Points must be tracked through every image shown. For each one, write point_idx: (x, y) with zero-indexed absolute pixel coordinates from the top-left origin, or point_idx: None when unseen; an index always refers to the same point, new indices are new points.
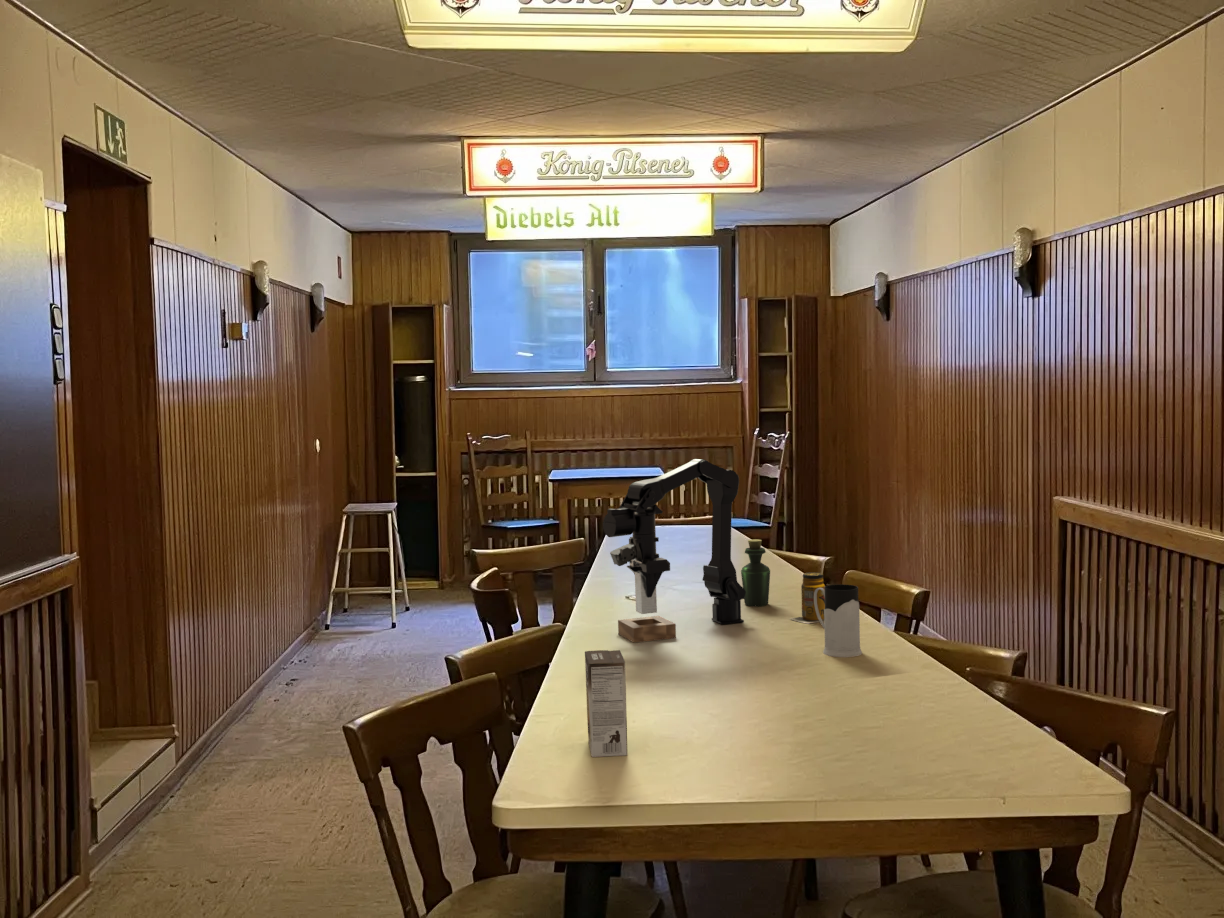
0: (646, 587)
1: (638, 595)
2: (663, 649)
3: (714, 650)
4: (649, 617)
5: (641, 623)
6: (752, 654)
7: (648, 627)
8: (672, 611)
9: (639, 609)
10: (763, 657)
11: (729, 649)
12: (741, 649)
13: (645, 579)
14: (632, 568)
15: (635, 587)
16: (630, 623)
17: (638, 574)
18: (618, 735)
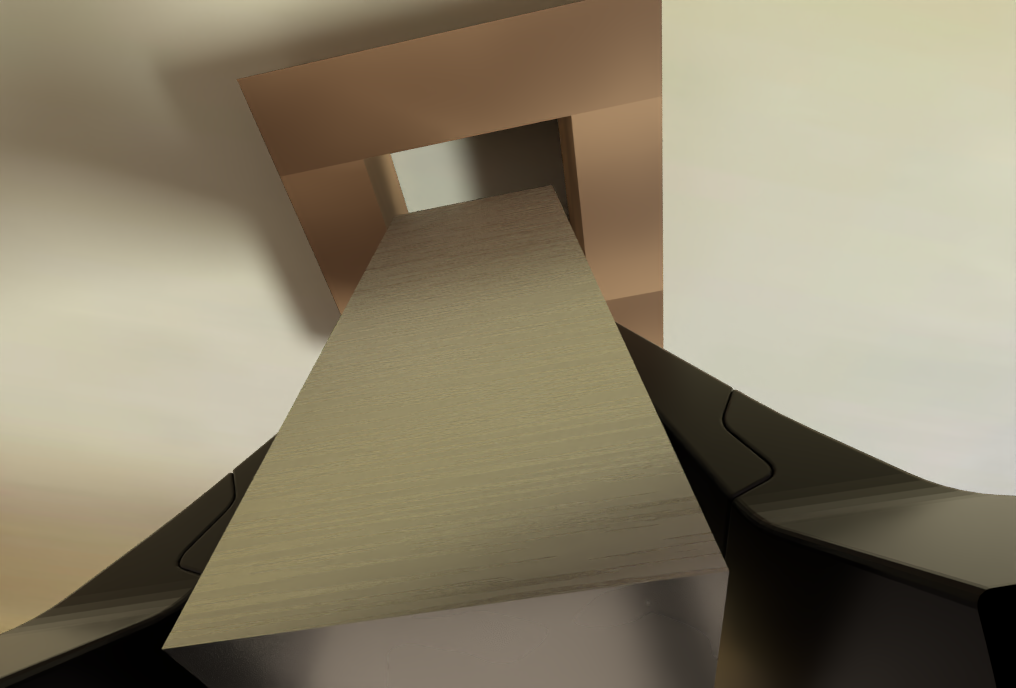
0: (268, 442)
1: (459, 272)
2: (88, 237)
3: (107, 450)
4: (636, 285)
5: (576, 205)
6: (57, 542)
7: (303, 220)
8: (1004, 429)
9: (452, 215)
10: (12, 559)
11: (137, 496)
12: (143, 527)
13: (119, 569)
14: (934, 644)
15: (589, 297)
16: (456, 89)
17: (363, 570)
18: None
